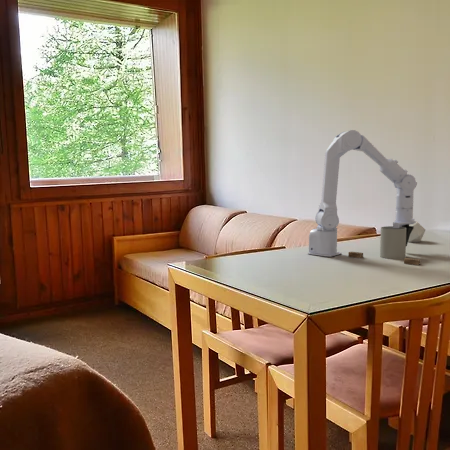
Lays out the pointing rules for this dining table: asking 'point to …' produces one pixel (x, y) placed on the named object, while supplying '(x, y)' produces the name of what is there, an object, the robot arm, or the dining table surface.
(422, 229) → the die
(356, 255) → the pair of brown blocks
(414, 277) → the dining table surface
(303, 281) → the dining table surface
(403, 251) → the grey cylinder
